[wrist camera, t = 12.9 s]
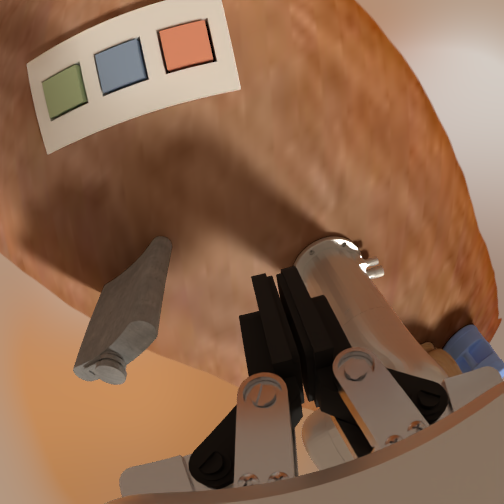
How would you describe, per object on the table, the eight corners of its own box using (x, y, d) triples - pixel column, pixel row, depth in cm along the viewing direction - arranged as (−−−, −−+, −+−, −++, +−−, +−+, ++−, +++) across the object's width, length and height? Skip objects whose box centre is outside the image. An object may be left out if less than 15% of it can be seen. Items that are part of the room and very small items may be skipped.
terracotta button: (204, 26, 26) (204, 19, 23) (212, 61, 29) (213, 58, 26) (163, 36, 26) (159, 31, 23) (171, 72, 29) (167, 69, 26)
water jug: (477, 329, 73) (519, 385, 49) (447, 360, 78) (483, 418, 54) (468, 317, 66) (517, 381, 42) (433, 353, 72) (475, 419, 48)
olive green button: (84, 66, 26) (75, 64, 23) (92, 100, 28) (83, 101, 26) (53, 82, 25) (42, 83, 23) (60, 115, 28) (49, 118, 26)
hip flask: (161, 232, 40) (135, 334, 23) (180, 250, 42) (169, 357, 25) (100, 289, 43) (64, 386, 26) (117, 303, 45) (91, 402, 28)
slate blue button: (141, 43, 26) (135, 38, 23) (149, 78, 28) (143, 77, 26) (103, 58, 26) (94, 55, 23) (111, 92, 28) (103, 92, 26)
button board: (217, -4, 24) (218, -12, 22) (238, 90, 32) (241, 89, 29) (37, 64, 24) (26, 63, 21) (57, 150, 31) (47, 154, 28)
